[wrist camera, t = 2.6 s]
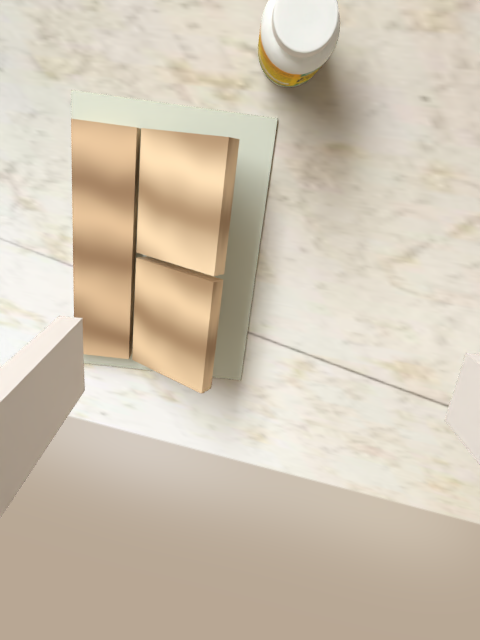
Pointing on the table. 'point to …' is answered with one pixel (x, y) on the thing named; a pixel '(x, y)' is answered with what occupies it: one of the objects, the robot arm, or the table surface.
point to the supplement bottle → (297, 39)
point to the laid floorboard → (105, 233)
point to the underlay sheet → (244, 213)
